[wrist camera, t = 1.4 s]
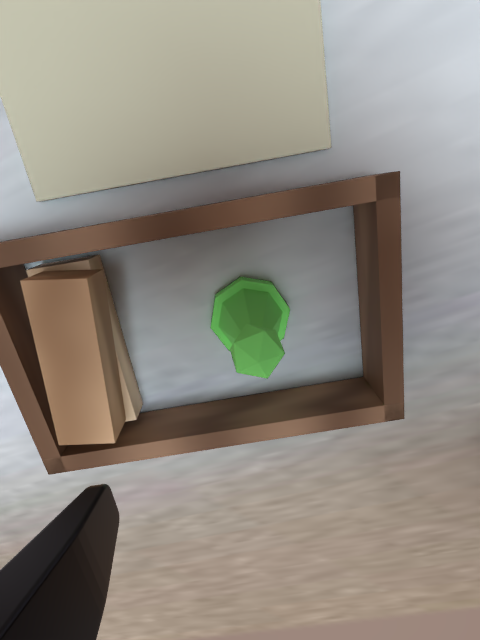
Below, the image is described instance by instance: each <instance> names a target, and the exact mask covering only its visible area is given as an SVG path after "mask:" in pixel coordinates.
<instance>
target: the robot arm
mask: <svg viewBox="0 0 480 640" xmlns="http://www.w3.org/2000/svg"><path fill="white" fill-rule="evenodd" d="M118 527H119V511H118V508H117V505H116V503H115V500H114V497H113V494H112V491H111V489H110V487H109V486H108V485H107V484H101V485H94V486H90V487H88V488H86V489H85V490H84V491H83V492H82V493H81V494H80V495H79V496H78V497H77V498H76V499H75V500H73V501H72V502H71V503H70V504H69V505H68V506H67V507H66V508H65V509H64V510H63V511H62V512H61V513H60V514H59V515H58V516H57V517H56V518H55V519H54V520H52V521H51V522H50V523H49V524H48V525H47V526H46V527H45V528H44V529H43V530H42V531H41V532H40V533H39V534H38V535H37V536H36V537H35V538H34V539H33V540H31V541H30V542H29V543H28V544H27V545H26V546H25V547H24V548H23V549H22V550H21V551H20V552H19V553H18V554H17V555H16V556H15V557H14V558H13V559H12V560H10V561H9V562H8V563H7V564H6V565H5V566H4V567H3V568H2V569H1V570H0V640H96V638H97V634H98V630H99V627H100V623H101V619H102V615H103V611H104V607H105V603H106V598H107V592H108V587H109V581H110V575H111V569H112V563H113V557H114V551H115V545H116V539H117V533H118Z"/></svg>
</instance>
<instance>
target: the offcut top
mask: <svg viewBox="0 0 480 640" xmlns="http://www.w3.org/2000/svg"><path fill="white" fill-rule="evenodd" d="M20 282H21V287H22V291H23V295H24V299H25V304H26V308H27V312H28V316H29V321H30V325H31V329H32V333H33V338H34V342H35V346H36V350H37V355H38V359H39V363H40V367H41V372H42V376H43V380H44V385H45V389H46V393H47V397H48V402H49V406H50V410H51V414H52V419H53V423H54V427H55V431H56V436H57V440H58V444H59V445H79V444H107V443H115V442H116V440H117V438H118V436H119V434H120V432H121V429H122V427H123V425H124V423H125V421H126V416H125V409H124V403H123V396H122V390H121V383H120V376H119V370H118V363H117V357H116V350H115V344H114V337H113V331H112V324H111V318H110V311H109V305H108V298H107V292H106V285H105V279H104V272H103V269H95V270H61V271H42V272H40V273H37V274H35V275H33V276H30V277H28V278H25V279H23V280H20Z"/></svg>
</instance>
